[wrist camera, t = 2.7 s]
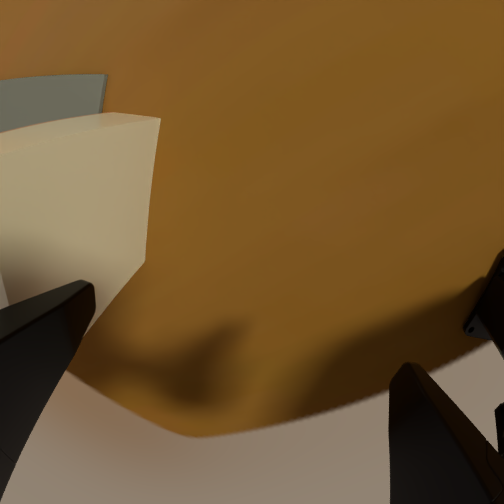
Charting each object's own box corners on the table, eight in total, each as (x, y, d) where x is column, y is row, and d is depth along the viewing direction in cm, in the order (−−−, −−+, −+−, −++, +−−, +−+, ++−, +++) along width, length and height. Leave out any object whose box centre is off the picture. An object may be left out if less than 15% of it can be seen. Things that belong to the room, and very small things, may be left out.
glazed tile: (161, 118, 13) (-14, 160, 4) (144, 261, 17) (42, 393, 8) (110, 112, 13) (-62, 152, 4) (101, 248, 17) (-10, 358, 8)
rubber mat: (108, 74, 12) (104, 74, 12) (95, 273, 18) (93, 275, 18) (-8, 81, 12) (-11, 82, 12) (-6, 234, 18) (-8, 235, 18)
